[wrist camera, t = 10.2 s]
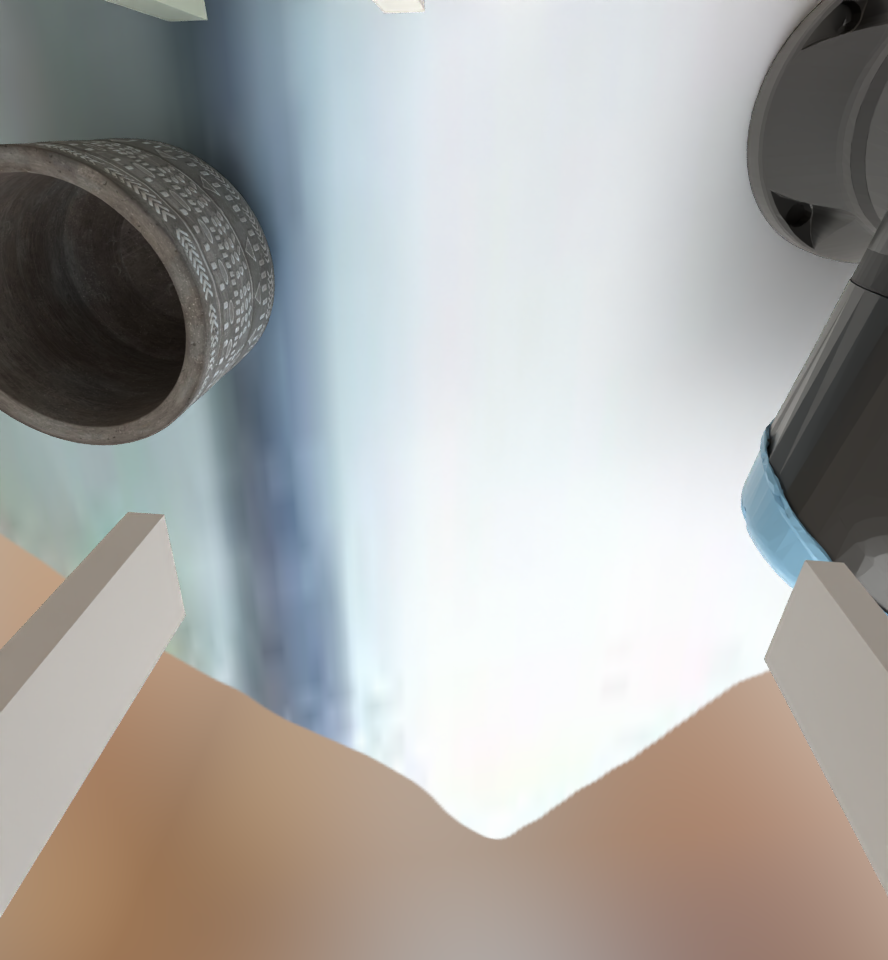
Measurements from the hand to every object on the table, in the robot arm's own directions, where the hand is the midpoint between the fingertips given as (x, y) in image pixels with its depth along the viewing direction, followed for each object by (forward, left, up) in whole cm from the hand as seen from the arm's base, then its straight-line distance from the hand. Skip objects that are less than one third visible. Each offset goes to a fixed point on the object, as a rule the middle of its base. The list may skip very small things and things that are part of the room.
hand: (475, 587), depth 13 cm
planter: (+20, -1, -33) cm, 39 cm away
